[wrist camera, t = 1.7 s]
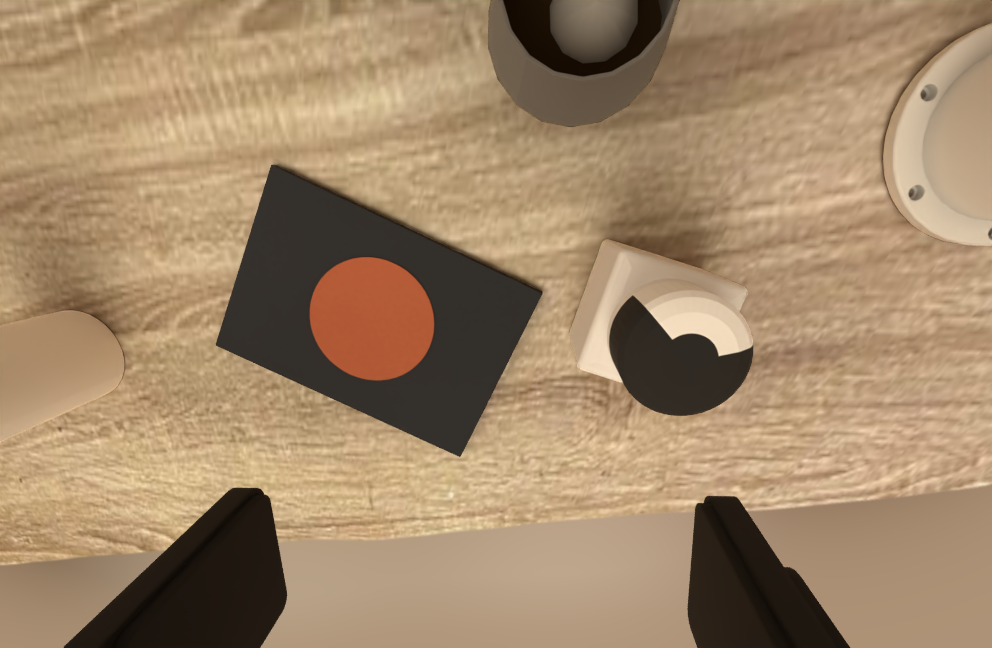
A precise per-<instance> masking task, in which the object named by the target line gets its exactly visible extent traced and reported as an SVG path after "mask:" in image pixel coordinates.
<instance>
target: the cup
mask: <svg viewBox="0 0 992 648" xmlns="http://www.w3.org/2000/svg"><path fill="white" fill-rule="evenodd" d="M679 1H680V0H491V2H490V7H489V21H488V49H489V52H490V55H491V59H492V62H493V65H494V68H495V72H496V75H497V78H498V80H499V82H500V83H501V84H502V86H503V87H504V88H505V90H506V91H507V92H508V94H509V95H510V97H511V98H512V99H513V101H514V102H515V103H516V105H517V106H519V107H520V108H522V109H523V110H525V111H526V112H528V113H530V114H531V115H533V116H534V117H536V118H537V119H539V120H540V121H542V122H547V123H552V124H557V125H562V126H567V127H574V126H580V125H586V124H592V123H597V122H601V121H603V120H604V119H606V118H608V117H610V116H611V115H613V114H615V113H617V112H618V111H620V110H622V109H623V108H625V107H627V106H629V104H630V103H631V102H632V101H633V100H634V99H635V98H636V96H637V95H638V94H639V93H640V92H641V91H642V90H643V88H644V87H645V86H646V85H647V84H648V83H649V82H650V81H651V79H652V77H653V75H654V72H655V70H656V68H657V65H658V63H659V61H660V59H661V56H662V54H663V52H664V49H665V47H666V44H667V41H668V38H669V34H670V31H671V27H672V24H673V21H674V17H675V14H676V11H677V7H678V4H679Z"/></svg>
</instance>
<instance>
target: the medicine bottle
mask: <svg viewBox="0 0 992 648" xmlns="http://www.w3.org/2000/svg"><path fill="white" fill-rule="evenodd" d="M747 293H748V291H747V289H746V287H744V286H742V285H740V284H737V283H735V282H733V281H730V280H728V279H725V278H723V277H721V276H718V275H716V274H713V273H711V272H708V271H706V270H704V269H701V268H698V267H695V266H692V265H688V264H685V263H682V262H679V261H676V260H673V259H669V258H666V257H663V256H660V255H657V254H654V253H651V252H647V251H644V250H641V249H638V248H635V247H632V246H629V245H625V244H622V243H619V242H616V241H613V240H610V239H606V240H604V241H603V242H602V244H601V247H600V249H599V252H598V255H597V258H596V260H595V263H594V266H593V269H592V271H591V274H590V277H589V280H588V282H587V285H586V288H585V291H584V293H583V296H582V299H581V302H580V304H579V307H578V310H577V312H576V315H575V318H574V321H573V323H572V326H571V329H570V332H569V335H570V339H571V343H572V347H573V351H574V354H575V358H576V362H577V366H578V368H579V369H581V370H583V371H586V372H589V373H592V374H596V375H599V376H602V377H605V378H608V379H611V380H614V381H618V382H621V383H624V385H625V387H626V388H627V390H628V391H629V393H630V394H631V395H632V396H633V397H634V398H635V399H636V400H637V401H638V402H640V403H641V404H642V405H644V406H646V407H647V408H649V409H651V410H654V411H656V412H659V413H663V414H667V415H674V416H686V415H694V414H698V413H702V412H705V411H708V410H710V409H712V408H714V407H716V406H718V405H720V404H721V403H723V402H724V401H726V400H727V399H728V398H729V397H731V396H732V395H733V394H734V393H735V392H736V391H737V389H738V388H739V387H740V386H741V384H742V383H743V381H744V380H745V378H746V376H747V374H748V372H749V369H750V366H751V363H752V357H753V340H752V335H751V331H750V328H749V326H748V324H747V322H746V320H745V318H744V317H743V316H742V314H741V313H740V312H739V311H740V309H741V307H742V305H743V303H744V301H745V298H746V296H747Z"/></svg>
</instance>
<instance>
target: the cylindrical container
mask: <svg viewBox="0 0 992 648" xmlns="http://www.w3.org/2000/svg"><path fill="white" fill-rule="evenodd" d="M124 367H125V366H124V356H123V352H122V349H121V347H120V344H119V342H118V340H117V339H116V337H115V336H114V334H113V333H112V332H111V331H110V330H109V328H108V327H107V326H106V325H105V324H103V323H102V322H101V321H99V320H98V319H97V318H95V317H93V316H91V315H89V314H86V313H84V312H80V311H74V310H64V311H59V312H55V313H51V314H46V315H42V316H38V317H33V318H29V319H25V320H21V321H16V322H12V323H8V324H3V325H0V443H1V442H3V441H5V440H7V439H9V438H12V437H14V436H16V435H18V434H20V433H23V432H25V431H27V430H29V429H31V428H34V427H36V426H38V425H40V424H42V423H45V422H47V421H49V420H51V419H53V418H56V417H58V416H60V415H62V414H64V413H67V412H69V411H71V410H73V409H75V408H78V407H80V406H82V405H84V404H87V403H89V402H91V401H93V400H95V399H98V398H100V397H102V396H104V395H106V394H108V393H110V392H112V391H113V390H114V389H115V388H116V387H117V386H118V384H119V383H120V381H121V379H122V377H123V374H124Z"/></svg>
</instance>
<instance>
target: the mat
mask: <svg viewBox="0 0 992 648" xmlns="http://www.w3.org/2000/svg"><path fill="white" fill-rule="evenodd" d="M541 295H542V291H539V290H537V289H535V288H533V287H531V286H529V285H527V284H525V283H523V282H520V281H518V280H516V279H514V278H512V277H510V276H508V275H506V274H504V273H502V272H499V271H497V270H495V269H493V268H491V267H489V266H487V265H485V264H483V263H480V262H478V261H476V260H474V259H472V258H470V257H468V256H466V255H464V254H462V253H459V252H457V251H455V250H453V249H451V248H449V247H447V246H445V245H443V244H440V243H438V242H436V241H434V240H432V239H430V238H428V237H426V236H424V235H422V234H419V233H417V232H415V231H413V230H411V229H409V228H407V227H405V226H403V225H400V224H398V223H396V222H394V221H392V220H390V219H388V218H386V217H384V216H382V215H379V214H377V213H375V212H373V211H371V210H369V209H367V208H365V207H363V206H360V205H358V204H356V203H354V202H352V201H350V200H348V199H346V198H344V197H342V196H339V195H337V194H335V193H333V192H331V191H329V190H327V189H325V188H323V187H320V186H318V185H316V184H314V183H312V182H310V181H308V180H306V179H304V178H302V177H299V176H297V175H295V174H293V173H291V172H289V171H287V170H285V169H283V168H280V167H278V166H276V165H271V168H270V171H269V174H268V178H267V181H266V184H265V187H264V190H263V194H262V197H261V200H260V203H259V207H258V210H257V213H256V216H255V220H254V223H253V226H252V229H251V233H250V236H249V239H248V242H247V245H246V249H245V252H244V255H243V258H242V262H241V265H240V268H239V271H238V275H237V278H236V281H235V284H234V288H233V291H232V294H231V297H230V300H229V304H228V307H227V310H226V313H225V317H224V320H223V323H222V326H221V330H220V333H219V336H218V339H217V343H216V346H218V347H221V348H223V349H225V350H227V351H229V352H232V353H234V354H236V355H238V356H240V357H243V358H245V359H247V360H249V361H251V362H253V363H256V364H258V365H260V366H262V367H264V368H267V369H269V370H271V371H273V372H275V373H278V374H280V375H282V376H284V377H286V378H288V379H291V380H293V381H295V382H297V383H299V384H302V385H304V386H306V387H308V388H310V389H313V390H315V391H317V392H319V393H321V394H323V395H326V396H328V397H330V398H332V399H334V400H337V401H339V402H341V403H343V404H345V405H348V406H350V407H352V408H354V409H356V410H358V411H361V412H363V413H365V414H367V415H369V416H372V417H374V418H376V419H378V420H380V421H383V422H385V423H387V424H389V425H391V426H393V427H396V428H398V429H400V430H402V431H404V432H407V433H409V434H411V435H413V436H415V437H418V438H420V439H422V440H424V441H426V442H428V443H431V444H433V445H435V446H437V447H439V448H442V449H444V450H446V451H448V452H450V453H453V454H455V455H457V456H459V457H460V456H461V454H462V452H463V451H464V449H465V447H466V445H467V443H468V441H469V439H470V437H471V435H472V433H473V431H474V429H475V427H476V425H477V423H478V421H479V419H480V417H481V415H482V413H483V411H484V409H485V407H486V405H487V403H488V401H489V399H490V397H491V395H492V393H493V391H494V389H495V387H496V385H497V383H498V381H499V379H500V377H501V375H502V373H503V371H504V369H505V367H506V365H507V363H508V361H509V359H510V357H511V355H512V353H513V351H514V349H515V347H516V345H517V343H518V341H519V339H520V337H521V335H522V333H523V331H524V329H525V327H526V325H527V323H528V321H529V319H530V317H531V315H532V313H533V311H534V309H535V307H536V305H537V303H538V301H539V299H540V297H541Z"/></svg>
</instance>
